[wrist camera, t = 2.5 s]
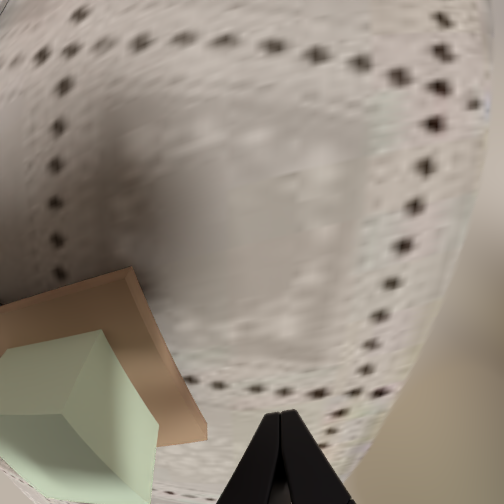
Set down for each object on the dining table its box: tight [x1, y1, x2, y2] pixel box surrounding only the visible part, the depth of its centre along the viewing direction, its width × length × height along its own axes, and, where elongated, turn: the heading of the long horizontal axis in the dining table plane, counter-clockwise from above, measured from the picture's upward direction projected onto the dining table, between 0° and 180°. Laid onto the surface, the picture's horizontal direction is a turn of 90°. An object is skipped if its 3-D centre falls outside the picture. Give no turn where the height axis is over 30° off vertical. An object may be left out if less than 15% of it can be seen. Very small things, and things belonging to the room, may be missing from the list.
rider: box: [0, 329, 159, 504], centre depth 9 cm, size 5×5×4 cm
